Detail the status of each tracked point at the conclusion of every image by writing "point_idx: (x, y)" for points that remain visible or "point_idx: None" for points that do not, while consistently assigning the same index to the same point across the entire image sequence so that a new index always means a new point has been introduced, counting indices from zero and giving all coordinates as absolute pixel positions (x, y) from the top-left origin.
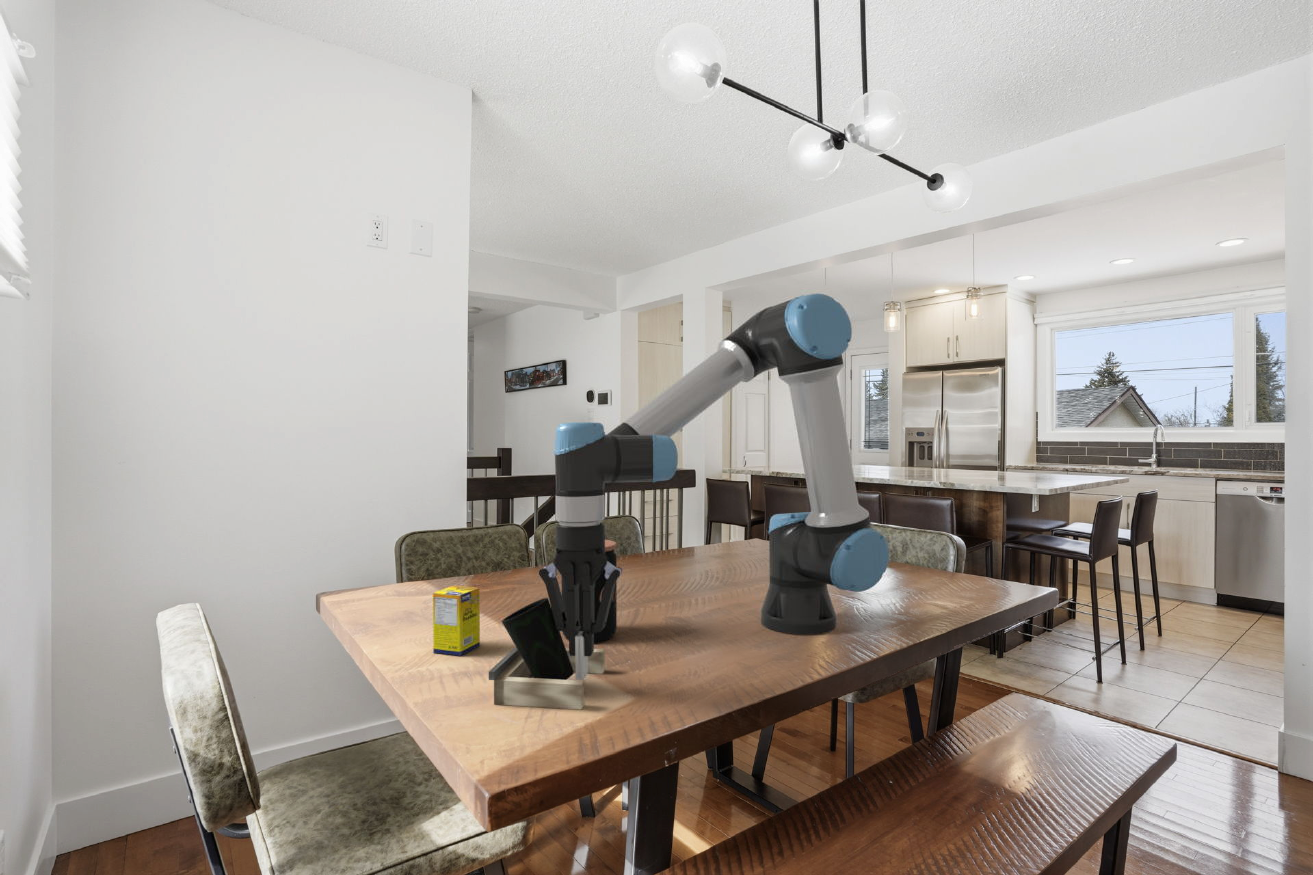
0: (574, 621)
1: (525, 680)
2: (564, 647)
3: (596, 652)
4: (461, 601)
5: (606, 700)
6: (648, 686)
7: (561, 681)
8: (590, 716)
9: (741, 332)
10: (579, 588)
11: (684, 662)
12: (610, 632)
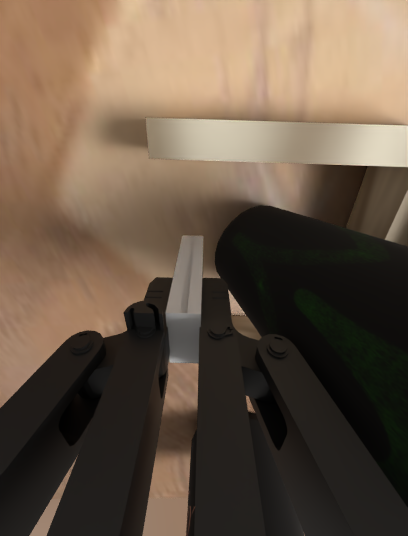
0: (203, 375)
1: (354, 137)
2: (247, 305)
3: None
4: None
5: (117, 186)
6: (58, 267)
7: (223, 142)
8: (121, 70)
9: None
10: None
11: (44, 362)
12: (196, 434)
